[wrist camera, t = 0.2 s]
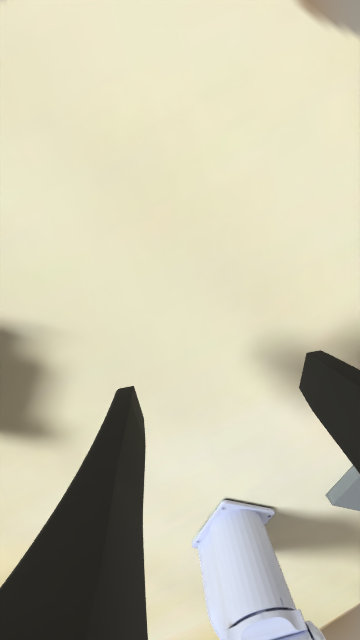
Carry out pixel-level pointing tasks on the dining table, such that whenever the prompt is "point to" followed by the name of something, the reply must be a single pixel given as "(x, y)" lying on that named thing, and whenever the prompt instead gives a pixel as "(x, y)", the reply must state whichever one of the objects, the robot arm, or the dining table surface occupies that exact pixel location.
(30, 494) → the dining table surface
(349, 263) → the dining table surface
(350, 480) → the stub board
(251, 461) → the dining table surface
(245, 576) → the robot arm
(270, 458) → the dining table surface
